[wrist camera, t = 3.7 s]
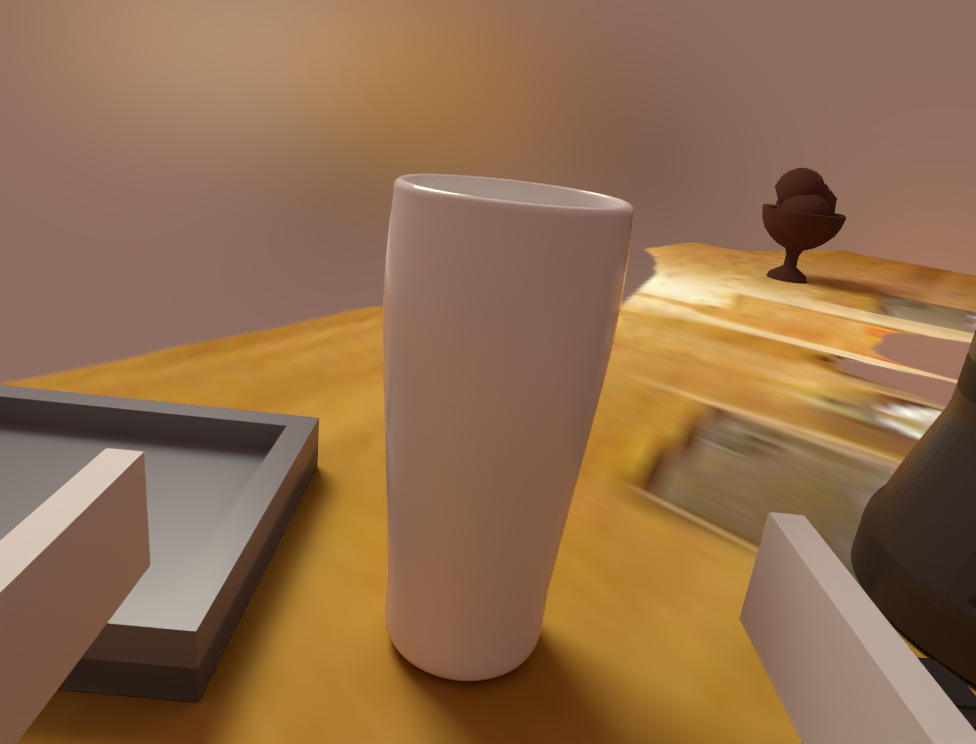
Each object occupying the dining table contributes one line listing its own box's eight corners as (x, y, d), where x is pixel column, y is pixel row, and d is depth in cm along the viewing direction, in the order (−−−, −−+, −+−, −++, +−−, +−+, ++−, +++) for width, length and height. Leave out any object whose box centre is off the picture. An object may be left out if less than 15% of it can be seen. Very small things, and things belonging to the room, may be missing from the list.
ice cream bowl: (815, 291, 94) (847, 174, 89) (734, 273, 101) (759, 162, 96) (838, 283, 102) (868, 175, 97) (761, 266, 109) (785, 164, 104)
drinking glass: (319, 641, 24) (337, 172, 19) (440, 552, 29) (479, 172, 24) (492, 747, 20) (570, 215, 15) (591, 625, 26) (672, 203, 21)
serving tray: (317, 464, 35) (318, 418, 34) (198, 702, 21) (196, 631, 20) (-39, 429, 34) (-46, 380, 34) (-410, 647, 20) (-438, 572, 19)
